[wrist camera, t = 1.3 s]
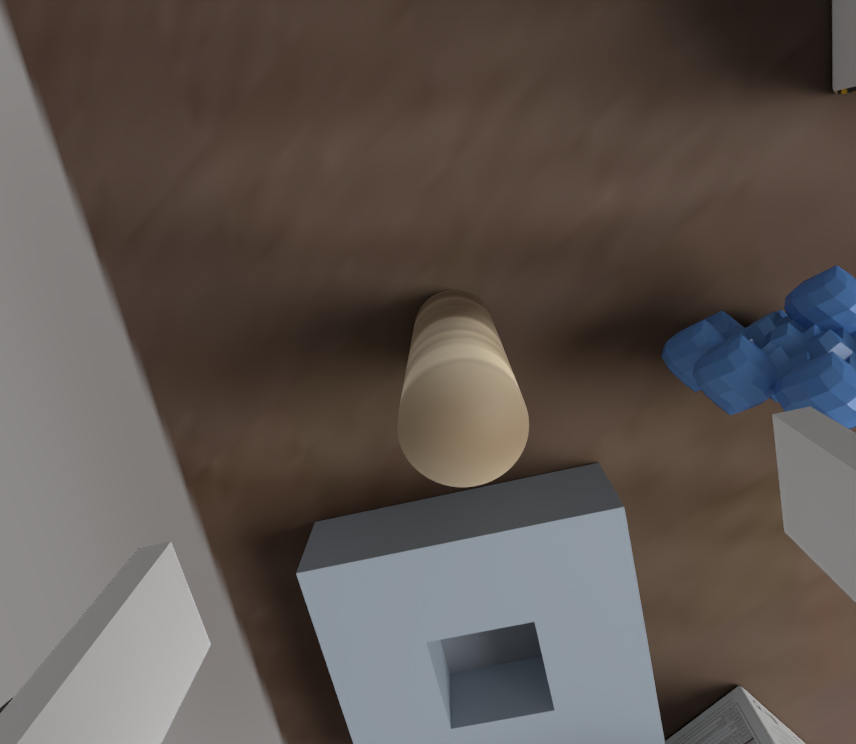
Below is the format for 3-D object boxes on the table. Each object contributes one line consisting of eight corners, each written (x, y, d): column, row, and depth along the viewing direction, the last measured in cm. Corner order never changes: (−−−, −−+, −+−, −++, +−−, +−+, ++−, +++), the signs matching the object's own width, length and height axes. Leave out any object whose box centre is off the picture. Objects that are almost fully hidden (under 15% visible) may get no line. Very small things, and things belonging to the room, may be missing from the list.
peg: (405, 299, 33) (382, 380, 19) (483, 281, 32) (514, 350, 19) (424, 373, 34) (414, 498, 20) (499, 356, 33) (540, 472, 20)
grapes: (886, 251, 32) (1143, 290, 20) (860, 383, 34) (1080, 488, 22) (647, 249, 32) (766, 287, 20) (634, 381, 34) (736, 484, 22)
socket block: (314, 521, 36) (296, 573, 31) (598, 462, 35) (624, 506, 30) (386, 745, 41) (379, 820, 36) (641, 699, 39) (669, 771, 34)
